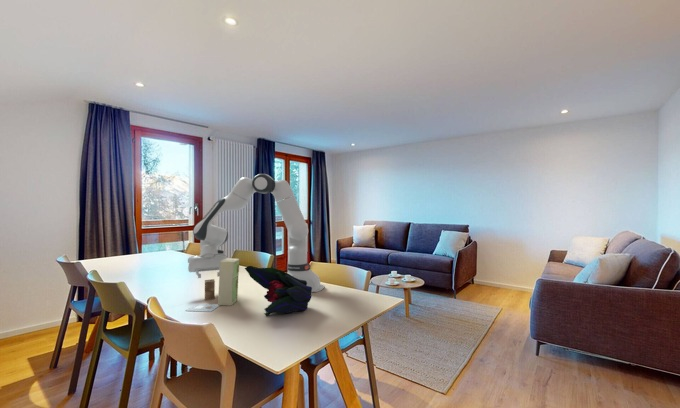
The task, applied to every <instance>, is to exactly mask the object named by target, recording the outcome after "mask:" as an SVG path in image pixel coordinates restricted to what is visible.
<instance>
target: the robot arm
mask: <svg viewBox="0 0 680 408" xmlns="http://www.w3.org/2000/svg"><path fill="white" fill-rule="evenodd" d="M255 193H258V194H259V193H260V194H263V195H264V194H270V193H271V194H272V196H273V197H274V200H275V202H276V205H277V207H278V211H279V212H280V214H281V217H282V220H283V222H284V225H285V227H286V229H287V264H286V273H288V274H290V275H291V276H293V277H295V278H297V279H299V280H305V281H306V282H307V286H310V287H312V292H311V293H318V292H320V291H322V290H323V289H324V288H325V285H324V284H323V283H321V279H320V276H319V275H318V274H317V273H315V271H313V270H312V269H311V266H312V264H311V263H309V262H308V246H307V244H308V242H307V236H308V234H309V228H308V223H307V222H306V219H305V218H304V215H303V213H302V211H301V208H300V206H299V203H298V200H297V199H296V198H297V197H296V196H295V194H294V191H293V189H292V186H291V185H290V184H289V182H288V181H287V180H285V179H280V180H275V179H274V178H273V177H272V176H270V175H269V174H266V173H258V174H257V175H255V176H254V177H253V178H249V177H247V176H243V177H241V178H240V179H239V180H238V181H237V182H236V183H235V185H234V186H233V187H232V188H231V191H230V192H229V193H228V194H227V195H226V196H225V197H221V198H219V199H218V200H217V201H216V202H215V203H214V204H213V206H212V207H211V208H210V209H209V211H207V213H206V214H205V215H204V217H203V218H201V220H200V221H198V222H197V223H196V224H195V226H194V228H193V231H192V233H193V235H194V238H195V239H196V240H199V241H200V242H199V244H200V245H199V246H200V249H199V250H200V252H199V255H196V256H195V255H191V256H190V257H189V258H187V263H188V268H187V271H188V272H189V273H195V274H196V275H197V279H201V278H202V274H201V273H200V272H211V271H212V272H213V271H218V272H217V275H216V276H217V277H219V274H220V261H222V260H224V259H226V258H229V257H228V256H227V254H226V253H227V252H226V251H225V250H222V249H218V248H219V247H221V246H223V245H224V244H226V242H227V241H228V239H229V232H228V230H227V229H226V228H224V227H221V226H218V225H214V224H213V222H214V220H215V219H216V218H217V217H218V216H219V215H220V213H222V212H228V211H233V212H234V211H241V210H243V209H245V207H246V206H248V203H249V202H250V200H251V198H252V196H253V194H255Z"/></svg>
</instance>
